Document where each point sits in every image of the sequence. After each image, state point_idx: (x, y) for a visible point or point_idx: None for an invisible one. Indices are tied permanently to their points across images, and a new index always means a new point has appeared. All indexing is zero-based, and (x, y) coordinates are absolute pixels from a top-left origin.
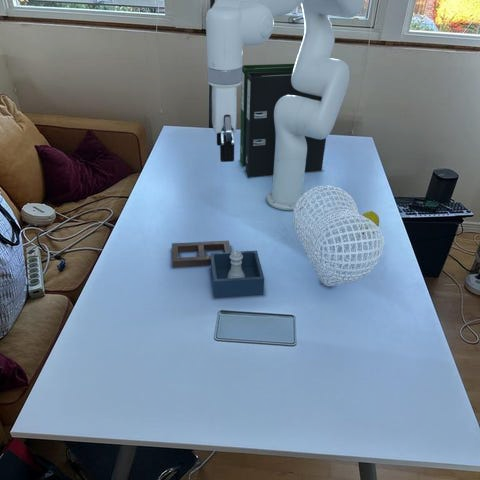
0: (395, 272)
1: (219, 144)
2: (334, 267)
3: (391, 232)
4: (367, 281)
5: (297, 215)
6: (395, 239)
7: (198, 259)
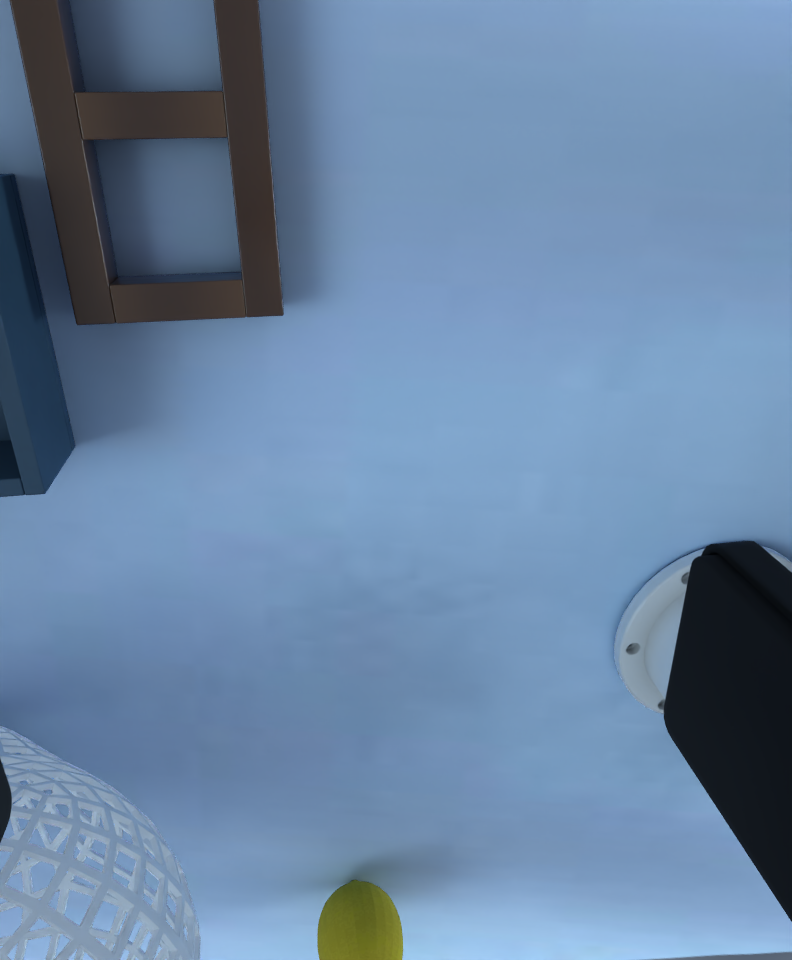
0: None
1: (694, 589)
2: None
3: None
4: None
5: (89, 835)
6: None
7: (32, 86)
